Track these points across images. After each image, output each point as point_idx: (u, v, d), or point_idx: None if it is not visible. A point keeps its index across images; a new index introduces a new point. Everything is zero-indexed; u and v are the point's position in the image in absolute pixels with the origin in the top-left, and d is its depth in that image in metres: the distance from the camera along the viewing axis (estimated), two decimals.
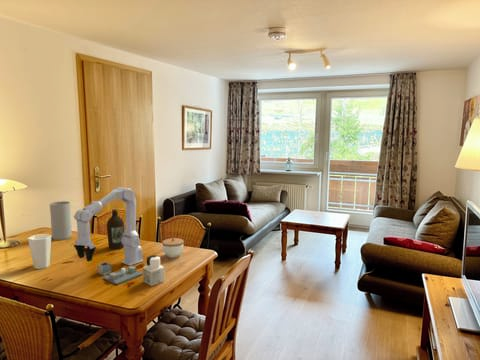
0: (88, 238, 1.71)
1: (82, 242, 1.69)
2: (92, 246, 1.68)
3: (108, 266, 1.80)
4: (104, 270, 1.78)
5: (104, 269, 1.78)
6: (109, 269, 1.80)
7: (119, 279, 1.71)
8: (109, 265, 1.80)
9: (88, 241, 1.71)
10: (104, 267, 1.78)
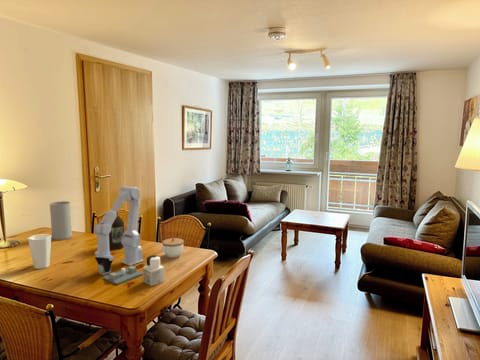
0: (108, 250, 1.78)
1: (102, 254, 1.77)
2: (111, 258, 1.75)
3: None
4: (104, 270, 1.78)
5: (104, 269, 1.78)
6: None
7: (119, 279, 1.71)
8: None
9: (107, 253, 1.78)
10: None
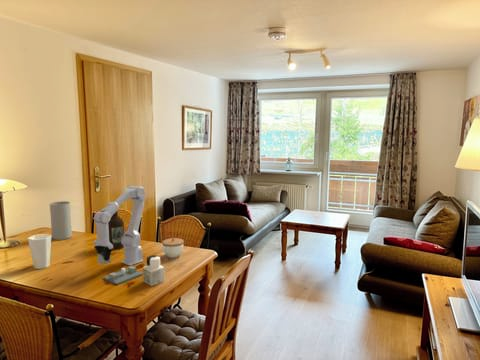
0: (107, 239, 1.77)
1: (101, 243, 1.76)
2: (111, 247, 1.74)
3: None
4: (104, 259, 1.77)
5: (103, 258, 1.77)
6: None
7: (119, 279, 1.71)
8: None
9: (107, 242, 1.77)
10: (103, 256, 1.77)
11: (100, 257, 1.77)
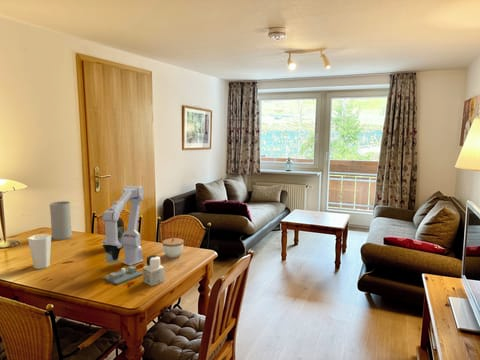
0: (116, 238, 1.75)
1: (110, 242, 1.73)
2: (120, 246, 1.72)
3: None
4: (112, 258, 1.75)
5: (112, 257, 1.74)
6: None
7: (119, 279, 1.71)
8: None
9: (116, 241, 1.75)
10: (112, 255, 1.74)
11: (108, 256, 1.75)
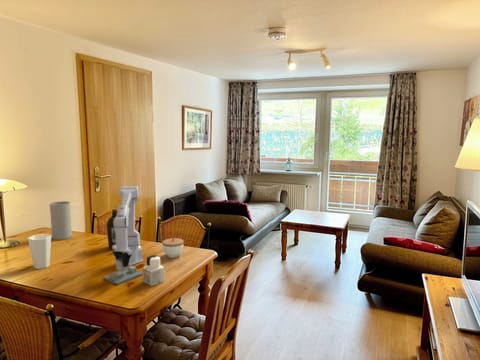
0: (126, 244, 1.73)
1: (120, 248, 1.71)
2: (130, 252, 1.70)
3: None
4: (122, 265, 1.72)
5: (122, 264, 1.72)
6: None
7: (119, 279, 1.71)
8: None
9: (126, 247, 1.73)
10: (122, 262, 1.72)
11: (119, 263, 1.73)
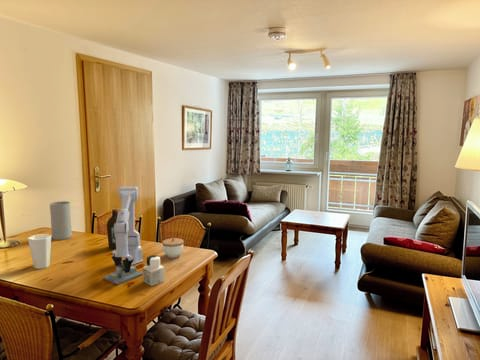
0: (126, 250, 1.73)
1: (121, 254, 1.72)
2: (131, 258, 1.70)
3: None
4: (123, 272, 1.73)
5: (122, 271, 1.73)
6: None
7: (119, 279, 1.71)
8: None
9: (126, 253, 1.73)
10: (122, 269, 1.73)
11: (119, 270, 1.73)
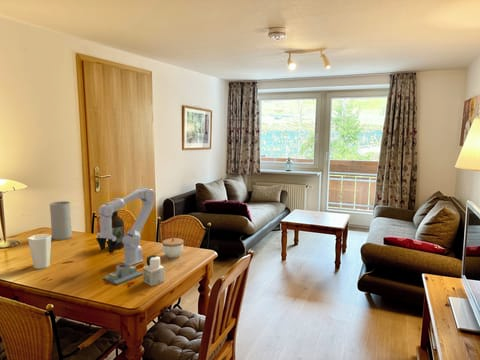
0: (110, 231, 1.83)
1: (105, 235, 1.81)
2: (114, 239, 1.80)
3: (126, 268, 1.75)
4: (123, 272, 1.73)
5: (122, 271, 1.73)
6: (127, 271, 1.75)
7: (119, 279, 1.71)
8: (127, 267, 1.75)
9: (110, 234, 1.83)
10: (122, 269, 1.73)
11: (119, 270, 1.73)
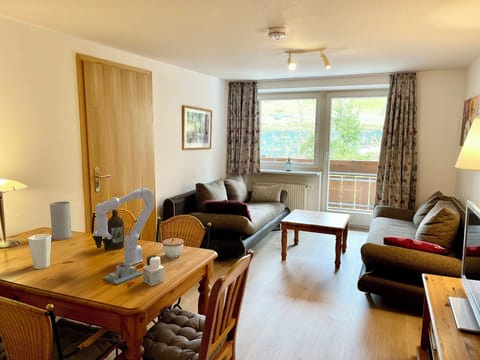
0: (106, 230, 1.86)
1: (100, 233, 1.85)
2: (109, 237, 1.83)
3: (126, 268, 1.75)
4: (123, 272, 1.73)
5: (122, 271, 1.73)
6: (127, 271, 1.75)
7: (119, 279, 1.71)
8: (127, 267, 1.75)
9: (106, 232, 1.86)
10: (122, 269, 1.73)
11: (119, 270, 1.73)
